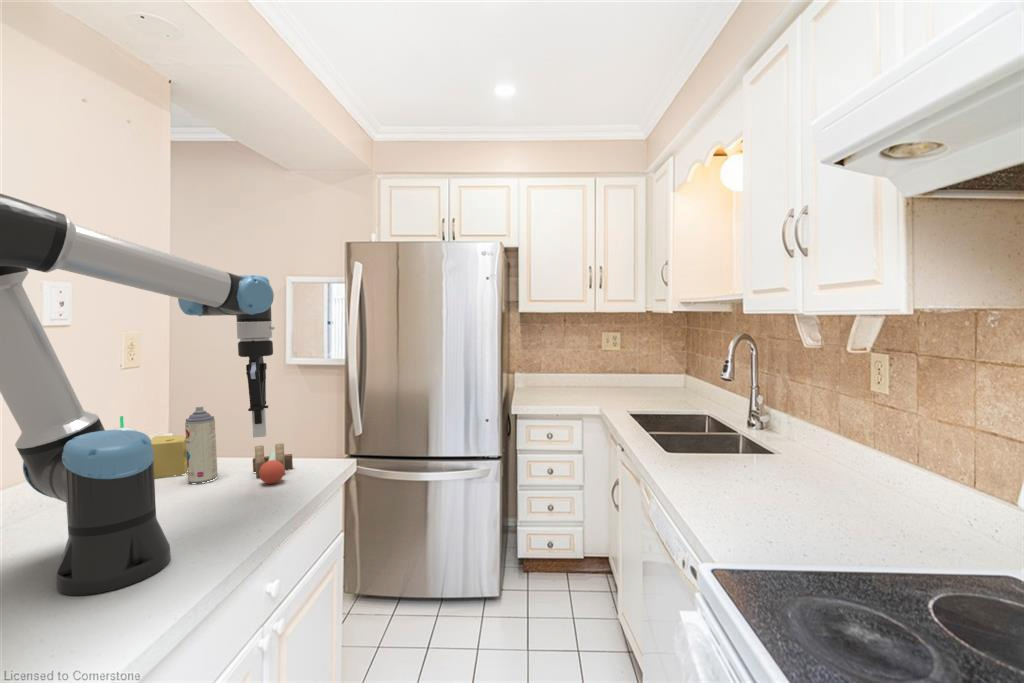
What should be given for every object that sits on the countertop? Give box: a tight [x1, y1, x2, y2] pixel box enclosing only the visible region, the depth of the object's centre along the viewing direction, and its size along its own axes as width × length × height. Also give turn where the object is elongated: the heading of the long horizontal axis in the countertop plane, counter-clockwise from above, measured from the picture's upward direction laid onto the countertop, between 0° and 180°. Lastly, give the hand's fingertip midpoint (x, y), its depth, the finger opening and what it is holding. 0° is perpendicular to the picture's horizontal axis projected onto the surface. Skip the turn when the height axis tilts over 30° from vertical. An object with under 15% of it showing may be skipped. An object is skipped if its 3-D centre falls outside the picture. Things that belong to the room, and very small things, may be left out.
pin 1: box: [254, 444, 265, 479], centre depth 135 cm, size 2×2×8 cm
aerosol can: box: [184, 406, 219, 484], centre depth 133 cm, size 7×7×20 cm
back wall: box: [252, 453, 294, 473], centre depth 141 cm, size 2×10×4 cm, turn 109°
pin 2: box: [274, 443, 286, 476], centre depth 137 cm, size 2×2×8 cm
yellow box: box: [150, 435, 188, 479], centre depth 141 cm, size 10×11×10 cm
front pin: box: [268, 449, 276, 461], centre depth 137 cm, size 2×2×8 cm
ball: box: [259, 460, 285, 485], centre depth 130 cm, size 6×6×6 cm
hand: (259, 436), depth 121 cm, fingers closed
